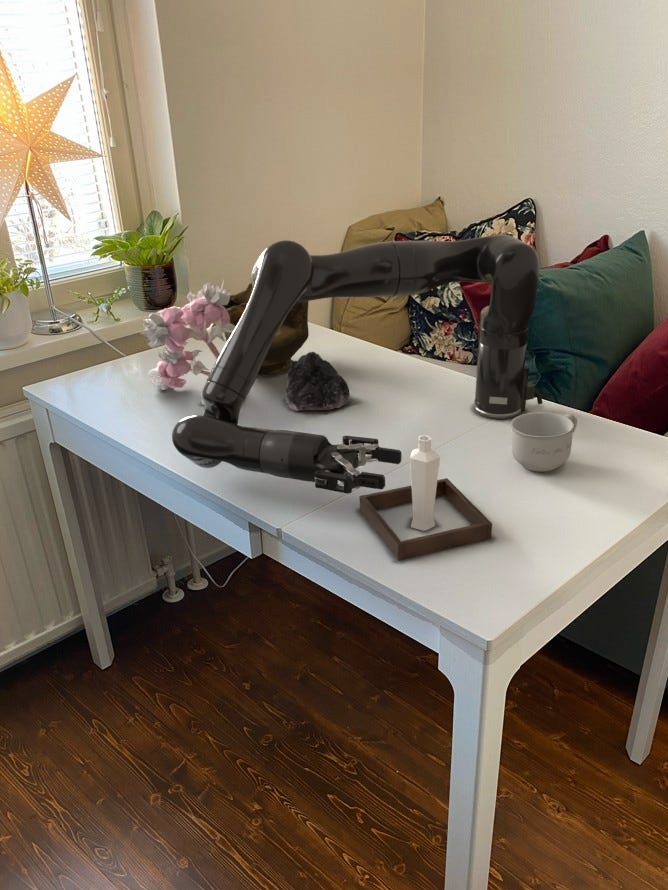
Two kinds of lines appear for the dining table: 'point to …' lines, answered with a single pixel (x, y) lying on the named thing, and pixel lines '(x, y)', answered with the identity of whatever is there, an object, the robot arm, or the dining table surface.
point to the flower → (187, 334)
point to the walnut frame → (427, 543)
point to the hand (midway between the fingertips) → (393, 469)
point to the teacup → (542, 439)
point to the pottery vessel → (287, 336)
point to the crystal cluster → (315, 385)
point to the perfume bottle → (424, 483)
